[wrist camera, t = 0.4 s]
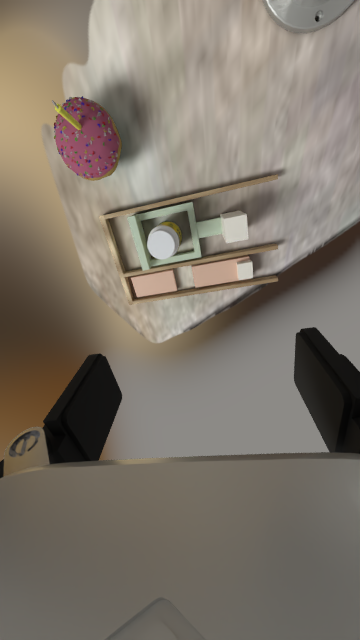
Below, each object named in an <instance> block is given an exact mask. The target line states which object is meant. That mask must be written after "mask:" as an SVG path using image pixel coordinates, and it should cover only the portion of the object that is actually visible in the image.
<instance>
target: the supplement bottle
mask: <svg viewBox="0 0 360 640" xmlns="http://www.w3.org/2000/svg"><path fill="white" fill-rule="evenodd" d="M181 241H182V232H181V230H180V228H179V227H178V225H176V224H175V223H173V222H170V221H165V222H162V223H160V224H159V225H158V226H156V227H155V228H154V229H153V230H152V231H151V232H150V234H149V237H148V242H147V247H148V250H149V252H150V254H151V255H152V256H153V257H155V258H157V259H167V258H169V257H171V256H173V255H174V254H175V253H176V252H177V250H178V248H179V246H180V244H181Z"/></svg>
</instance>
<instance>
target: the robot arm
mask: <svg viewBox="0 0 360 640" xmlns="http://www.w3.org/2000/svg"><path fill="white" fill-rule="evenodd" d="M353 2H354V0H274V1H272V0H263V3H264V6H265V8H266V9H267V11H268V13H269V15H270V16H271V18H272V19H273V20H274V21H275V22H276V23H277V24H278V25H279V26H281V27H282V28H284V29H285V30H287V31H290V32H294V33H310V32H313V31H317V30H319V29H321V28H323V27H325V26H327V25H329V24H330V23H332V22H333V21H334V20H336V19H337V18H338V17H339V16H341V15H342V14H343V13H344V11H345V10H346V9H347V8H348V7H349V6H350V5H351V4H352V3H353ZM315 18H317V19H318V22H316V20H315ZM294 381H295V384H296V386H297V388H298V390H299V392H300V394H301V396H302V398H303V400H304V402H305V404H306V406H307V408H308V410H309V412H310V414H311V416H312V418H313V420H314V422H315V424H316V426H317V428H318V430H319V432H320V434H321V436H322V438H323V440H324V442H325V444H326V446H327V448H328V450H329V452H327V453H326V452H321V453H274V454H247V455H219V456H193V457H171V458H170V457H169V458H145V459H125V460H103V461H98V460H99V458H100V455H101V453H102V450H103V447H104V445H105V442H106V439H107V437H108V434H109V432H110V429H111V426H112V424H113V421H114V418H115V416H116V413H117V410H118V408H119V405H120V403H121V400H122V393H121V391H120V388H119V386H118V384H117V382H116V379H115V377H114V375H113V372H112V370H111V368H110V365H109V363H108V361H107V359H106V357H105V356H103V355H102V354H93V355H89V356H88V357H87V358H86V360H85V361H84V363H83V364H82V366H81V367H80V369H79V370H78V372H77V373H76V374H75V376H74V377H73V379H72V380H71V382H70V383H69V384H68V386H67V387H66V389H65V390H64V392H63V393H62V395H61V396H60V398H59V399H58V400H57V402H56V404H55V405H54V406H53V408H52V409H51V410H50V412H49V413H48V415H47V416H46V418H45V419H44V421H43V422H44V424H45V425H44V427H43V428H40V427H33V428H30V429H28V430H25V431H24V432H22V433H21V434H19V435H18V436H17V437H16V438H14V439H13V440H12V442H11V443H10V444H9V445H8V447H7V448H6V450H5V454H4V459H3V460H2V461H1V462H0V640H360V372H359V371H358V370H357V369H356V367H355V366H354V365H353V364H352V363H351V362H350V361H349V360H348V359H347V358H346V357H345V356H344V355H342V354H339V353H338V352H337V351H336V350H335V349H334V348H333V347H332V345H331V344H330V343H329V342H328V341H327V340H326V339H325V338H324V336H323V335H322V334H321V333H320V332H319V331H318V330H317V329H316V328H314V327H313V328H305V329H301V330H300V332H299V333H297V334H296V345H295V366H294Z"/></svg>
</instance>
